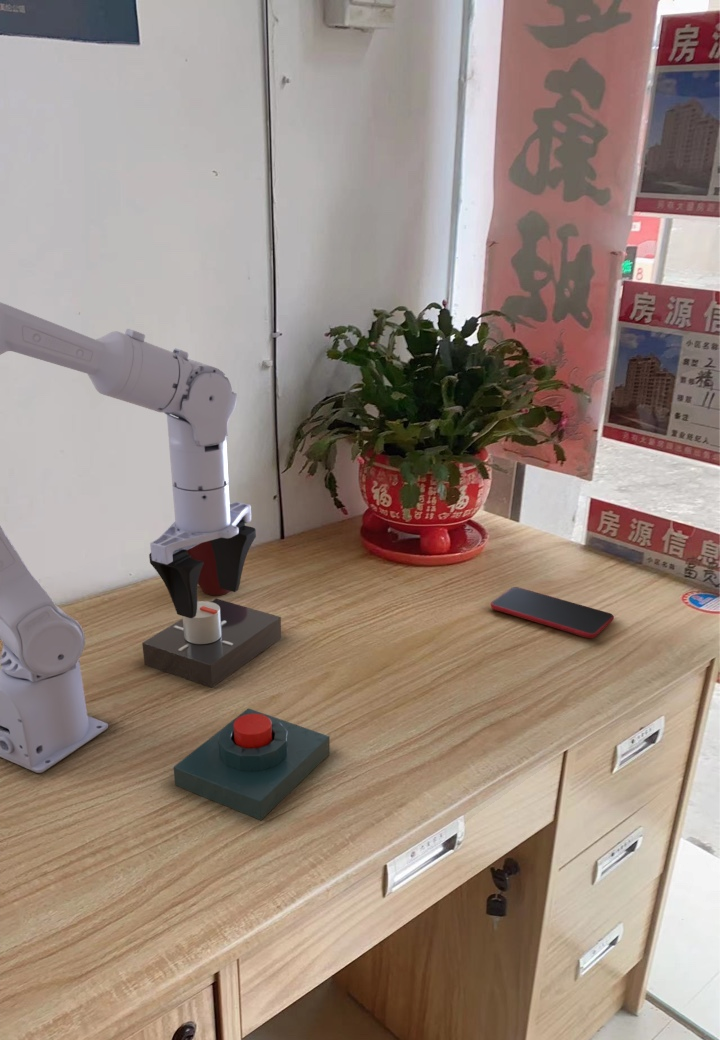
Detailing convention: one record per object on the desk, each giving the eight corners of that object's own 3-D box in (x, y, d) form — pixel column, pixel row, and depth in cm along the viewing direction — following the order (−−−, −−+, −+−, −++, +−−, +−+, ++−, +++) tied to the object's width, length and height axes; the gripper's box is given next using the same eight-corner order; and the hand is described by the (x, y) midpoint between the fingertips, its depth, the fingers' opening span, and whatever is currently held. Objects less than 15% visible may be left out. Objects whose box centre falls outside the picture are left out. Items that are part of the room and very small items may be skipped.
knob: (176, 638, 104) (173, 609, 102) (200, 623, 107) (198, 595, 105) (206, 647, 102) (204, 618, 100) (229, 632, 105) (227, 604, 103)
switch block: (261, 820, 80) (259, 785, 78) (174, 785, 84) (171, 751, 82) (329, 754, 89) (330, 721, 87) (248, 725, 93) (247, 693, 91)
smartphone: (513, 585, 124) (616, 614, 116) (513, 591, 124) (615, 620, 116) (488, 603, 118) (594, 635, 111) (487, 609, 119) (593, 641, 111)
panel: (212, 687, 100) (210, 663, 98) (144, 664, 104) (141, 641, 102) (281, 638, 111) (280, 615, 109) (217, 619, 115) (216, 597, 113)
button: (257, 753, 83) (257, 738, 82) (226, 742, 84) (225, 727, 83) (279, 735, 85) (278, 720, 85) (249, 724, 87) (248, 709, 86)
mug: (192, 612, 116) (186, 542, 111) (160, 592, 122) (154, 524, 117) (257, 591, 122) (255, 523, 118) (225, 573, 128) (221, 507, 123)
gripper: (186, 510, 83) (196, 637, 89) (272, 470, 94) (275, 586, 101) (129, 496, 86) (142, 620, 92) (219, 460, 97) (225, 572, 104)
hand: (208, 601), depth 97 cm, fingers open, 7 cm apart
